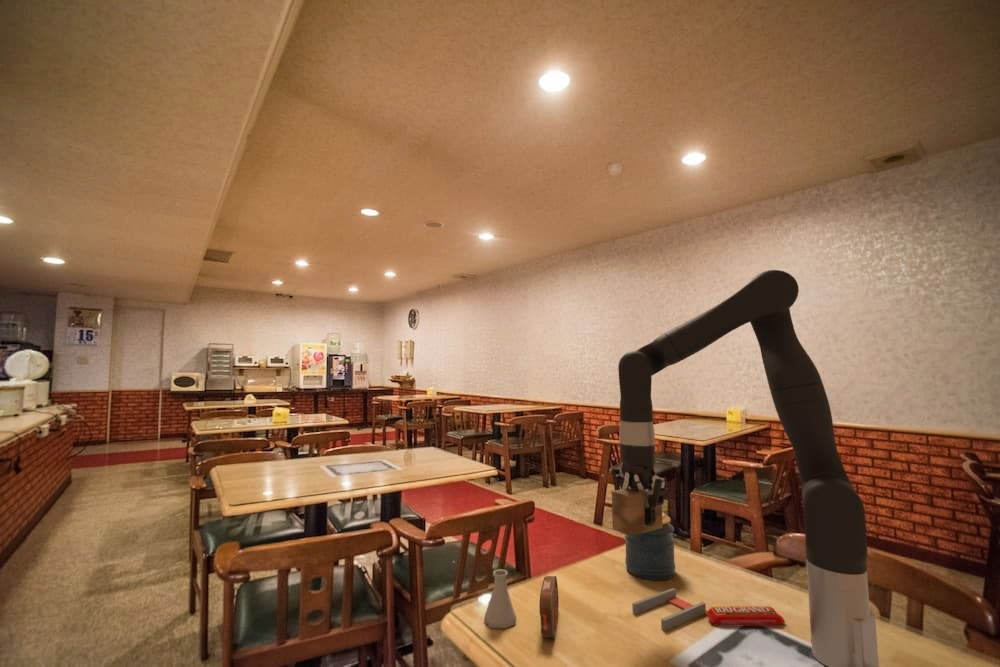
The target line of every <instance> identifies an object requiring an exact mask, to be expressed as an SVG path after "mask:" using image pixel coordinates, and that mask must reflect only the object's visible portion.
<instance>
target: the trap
mask: <svg viewBox="0 0 1000 667" xmlns="http://www.w3.org/2000/svg"><path fill="white" fill-rule="evenodd" d="M667 602H668V604H671V605H673V606H675V607H677V608H679V609H681V610H684V609H686V608H689V607H691V606H694V605H695V604H692V603H689V602H687V601H685V600H684V599H681V598H679V597H677V596H676V597H675V598H673V599H670V600H668V601H667Z"/></svg>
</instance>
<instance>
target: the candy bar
mask: <svg viewBox="0 0 1000 667" xmlns="http://www.w3.org/2000/svg"><path fill="white" fill-rule="evenodd" d="M705 611H706V613H705V614H706V615H707V617H708V620H709V623H711V624H714V625H715V626H718V625H745V626H749V627H754V626H755V627H756V626H758V625H767V627H768V626H770V627H771V626H780V625H781V624H782V623H786V622H785V619H784V618H783V616H782V615H780V614H779V613H778V612H777V611H776V609H774V608H773V607H771V606H767V605H765V606H760V605H759V606H758V605H757V606H756V605H752V606H751V605H750V606H748V605H747V606H746V605H745V606H744V605H743V606H741V605H740V606H738V605H737V606H736V605H733V606H731V605H730V606H728V605H727V606H711V607H710V608H709V609H708V610H707V609H706V610H705ZM758 627H759V626H758Z"/></svg>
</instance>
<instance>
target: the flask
mask: <svg viewBox="0 0 1000 667" xmlns="http://www.w3.org/2000/svg"><path fill="white" fill-rule="evenodd" d="M492 575H493V577H494V583H493V584H494V585H493V590H492V592H491V596H490V598H489V599H490V600H489V602H488V605H487V608H486V611H485V614H484V620H483V622H484V623H485V624H486V625H487V626H488V627H489V628H491V629H507V628H509V627H512V626H515V625H517V616H516V612H515V609H514V606H513V603H512V600H511V597H510V593H509V590H508V584H507V577H508V571H507V570H506V569H501V568H500V569H499V568H498V569H495V570H493V572H492Z"/></svg>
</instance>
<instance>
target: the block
mask: <svg viewBox="0 0 1000 667" xmlns="http://www.w3.org/2000/svg"><path fill="white" fill-rule="evenodd" d="M645 491H646V492H648V489H647V490H645ZM648 498H649V501H650V495H648ZM611 508H612V510H611V512H612V513H611V516H612V518H611V519H612V520H611V521H612V530H614V531H616V532H618V533H621V534H624V535H625V534H626V535H628V536H634V535H637V534H641V533H645V532H649V531H652V530H656V529H660V528H663V526H662V512H663V505H660V506H656V508H655V513H656V515H655V516H656V517H655V518H656V521H655V523H654V524H653V525H650V526H648V525H646V524H645V504H644V496H643V495H642V494H641V493H639V490H637V489H636V488H632V489H621V488H620V490H616V491H615V490H611Z"/></svg>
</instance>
